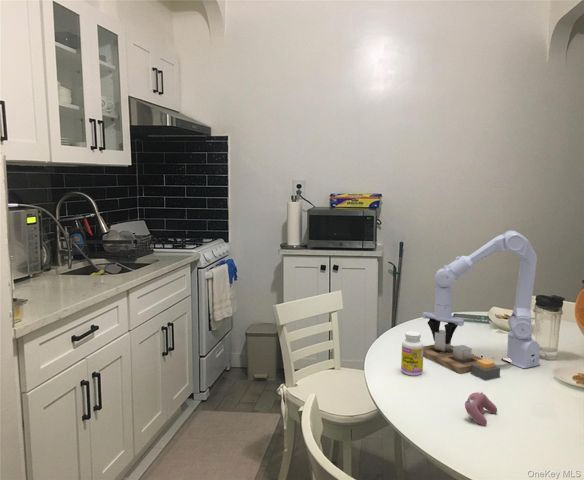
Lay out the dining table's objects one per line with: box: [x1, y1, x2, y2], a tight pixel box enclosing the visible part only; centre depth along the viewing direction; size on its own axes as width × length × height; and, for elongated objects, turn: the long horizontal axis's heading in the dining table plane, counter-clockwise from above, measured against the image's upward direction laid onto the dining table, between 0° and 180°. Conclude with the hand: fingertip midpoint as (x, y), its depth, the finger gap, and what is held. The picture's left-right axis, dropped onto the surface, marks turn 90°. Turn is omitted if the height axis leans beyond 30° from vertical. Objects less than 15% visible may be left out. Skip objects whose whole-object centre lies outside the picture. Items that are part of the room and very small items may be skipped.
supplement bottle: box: [400, 330, 424, 377], centre depth 161 cm, size 7×7×13 cm
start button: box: [477, 358, 495, 369], centre depth 159 cm, size 4×4×3 cm
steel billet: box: [433, 329, 452, 352], centre depth 177 cm, size 4×4×6 cm
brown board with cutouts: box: [423, 344, 484, 375], centre depth 173 cm, size 22×13×2 cm, turn 25°
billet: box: [453, 344, 473, 364], centre depth 168 cm, size 4×4×6 cm
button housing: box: [470, 363, 501, 381], centre depth 159 cm, size 6×6×3 cm
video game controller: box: [464, 391, 498, 427], centre depth 132 cm, size 10×5×7 cm, turn 141°
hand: (442, 342), depth 177 cm, fingers closed on steel billet, 4 cm apart
